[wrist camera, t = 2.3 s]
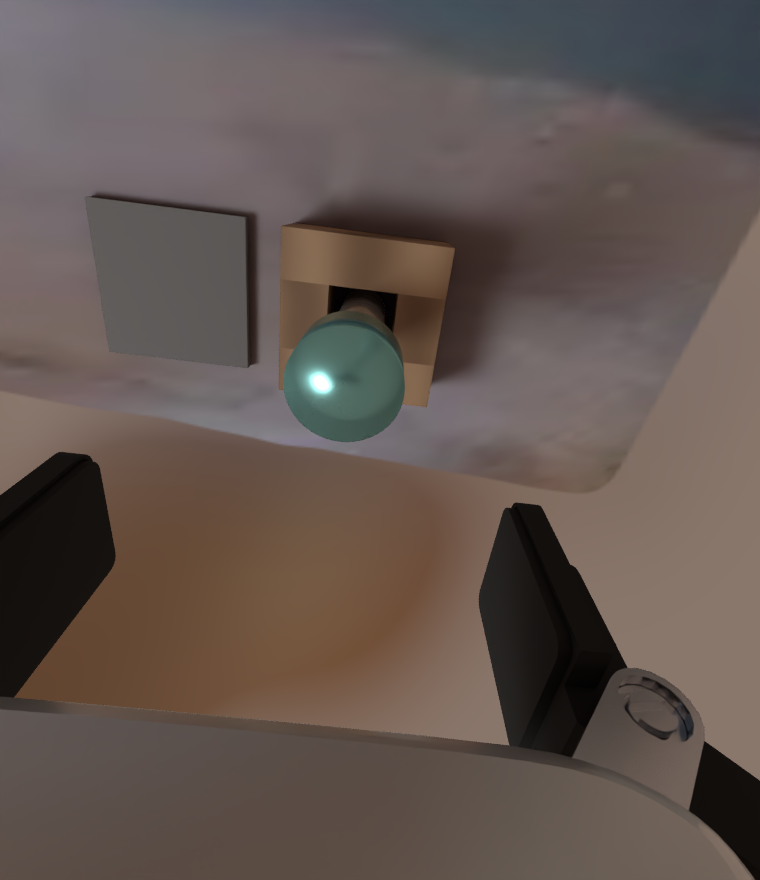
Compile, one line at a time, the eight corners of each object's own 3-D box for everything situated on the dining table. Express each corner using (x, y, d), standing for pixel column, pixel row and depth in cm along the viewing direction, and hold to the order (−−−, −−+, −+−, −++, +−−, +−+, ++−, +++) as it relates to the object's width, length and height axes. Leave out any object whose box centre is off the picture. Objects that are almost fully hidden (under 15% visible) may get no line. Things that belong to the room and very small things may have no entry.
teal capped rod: (404, 277, 31) (413, 335, 18) (394, 349, 34) (396, 447, 20) (330, 268, 31) (284, 319, 18) (325, 341, 33) (282, 435, 20)
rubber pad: (247, 217, 30) (245, 217, 29) (249, 365, 34) (247, 368, 34) (90, 196, 29) (84, 196, 29) (113, 349, 34) (109, 351, 33)
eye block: (447, 242, 30) (455, 248, 27) (423, 385, 35) (426, 407, 31) (294, 222, 30) (281, 226, 26) (290, 370, 34) (278, 389, 31)
